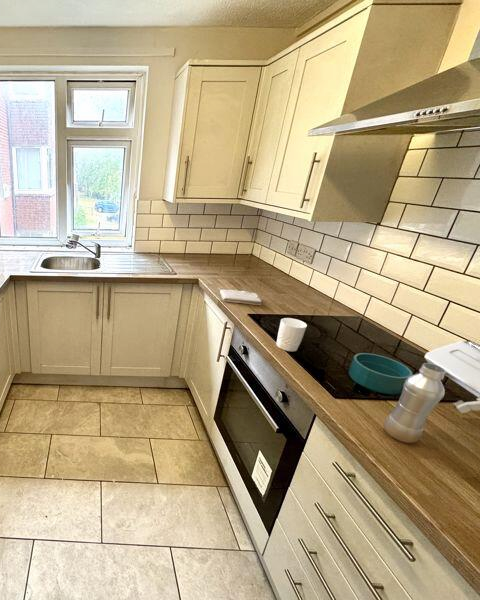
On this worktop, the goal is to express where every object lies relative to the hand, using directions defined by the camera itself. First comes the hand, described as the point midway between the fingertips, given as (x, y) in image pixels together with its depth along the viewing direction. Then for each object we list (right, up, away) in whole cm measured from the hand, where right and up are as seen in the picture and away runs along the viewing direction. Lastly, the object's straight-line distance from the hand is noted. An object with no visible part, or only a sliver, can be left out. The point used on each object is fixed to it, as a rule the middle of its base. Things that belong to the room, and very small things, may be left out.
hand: (437, 394), depth 71 cm
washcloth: (0, +21, +88) cm, 90 cm away
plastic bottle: (-2, -12, +7) cm, 14 cm away
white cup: (-4, +4, +46) cm, 46 cm away
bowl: (+11, -4, +27) cm, 29 cm away
